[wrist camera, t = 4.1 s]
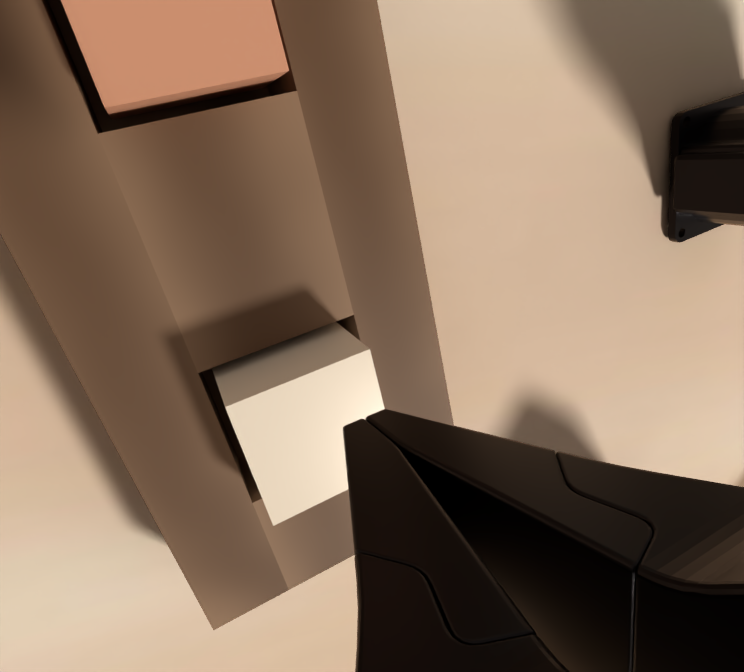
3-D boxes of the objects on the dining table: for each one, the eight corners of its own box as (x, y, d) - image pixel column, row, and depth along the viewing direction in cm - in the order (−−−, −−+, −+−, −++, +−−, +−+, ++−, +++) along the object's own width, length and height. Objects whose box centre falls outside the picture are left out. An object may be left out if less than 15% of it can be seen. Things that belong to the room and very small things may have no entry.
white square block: (335, 321, 17) (369, 349, 14) (363, 424, 19) (398, 464, 16) (211, 367, 16) (225, 407, 13) (254, 473, 18) (273, 525, 15)
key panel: (263, -295, 13) (299, -430, 10) (425, 453, 24) (466, 494, 21) (-240, -311, 10) (-403, -514, 7) (203, 562, 21) (213, 630, 18)
